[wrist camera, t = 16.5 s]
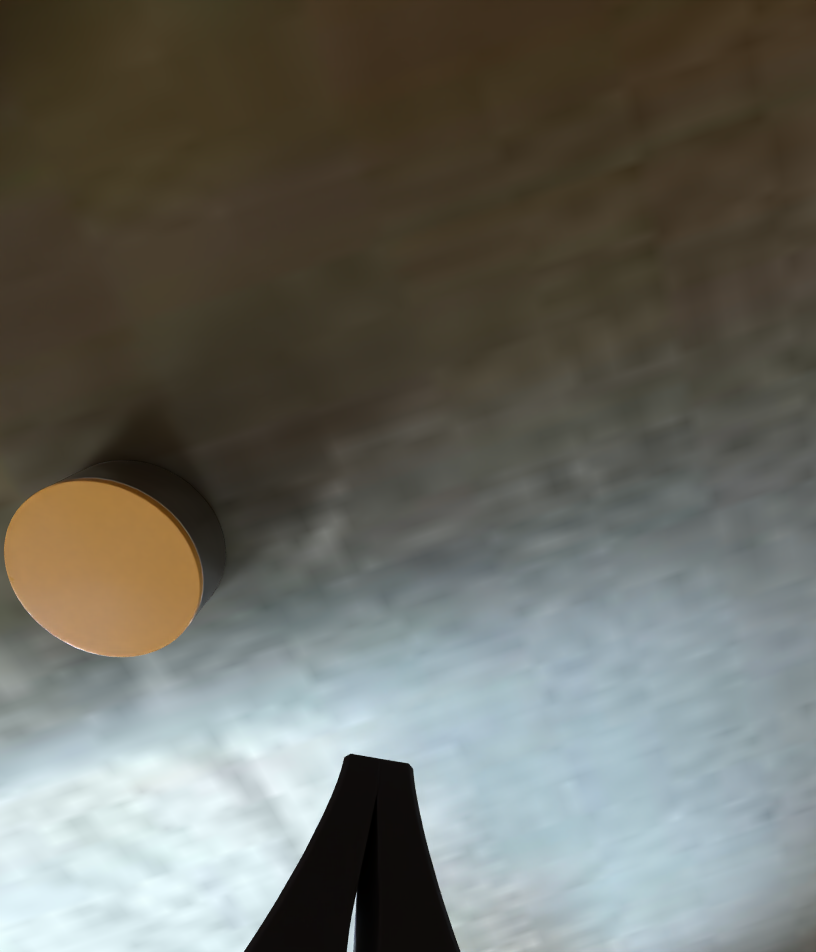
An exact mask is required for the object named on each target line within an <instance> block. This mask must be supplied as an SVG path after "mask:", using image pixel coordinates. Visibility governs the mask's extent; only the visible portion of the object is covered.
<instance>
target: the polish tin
mask: <svg viewBox="0 0 816 952" xmlns="http://www.w3.org/2000/svg"><path fill="white" fill-rule="evenodd" d="M4 556H5V565H6V570H7V574H8V577H9V580H10V582H11V585H12V587H13V589H14V591H15V593H16V595H17V597H18V599H19V600H20V602H21V603H22V604H23V606H24V607H25V609H26V610H27V611H28V612H29V613H30V615H31V616H32V617H33V618H34V619H35V620H36V621H37V622H38V623H39V624H40V625H41V626H42V627H44V628H45V629H46V630H47V631H49V632H50V633H51V634H53V635H54V636H56V637H57V638H59V639H61V640H62V641H64V642H66V643H68V644H70V645H72V646H74V647H76V648H79V649H82V650H84V651H87V652H91V653H95V654H98V655H104V656H111V657H131V656H139V655H144V654H148V653H151V652H154V651H157V650H159V649H161V648H163V647H165V646H167V645H168V644H170V643H171V642H173V641H174V640H176V639H177V638H178V637H179V636H180V635H181V634H182V633H183V632H184V631H185V629H186V628H187V627H188V625H189V624H190V623H191V622H192V620H193V619H194V618H195V616H196V615H197V614H198V612H199V611H200V610H201V608H202V607H203V606H204V604H205V603H206V602H207V600H208V599H209V598H210V596H211V595H212V594H213V593H214V591H215V590H216V588H217V586H218V584H219V583H220V580H221V577H222V575H223V571H224V566H225V557H226V551H225V541H224V537H223V533H222V530H221V527H220V524H219V522H218V520H217V518H216V516H215V514H214V512H213V510H212V509H211V507H210V506H209V505H208V503H207V502H206V500H205V499H204V498H203V497H202V496H201V495H200V494H199V493H198V492H197V491H196V490H195V489H194V488H193V487H192V486H191V485H190V484H188V483H187V482H186V481H184V480H183V479H181V478H180V477H178V476H177V475H175V474H173V473H171V472H169V471H167V470H165V469H163V468H160V467H158V466H155V465H151V464H148V463H144V462H138V461H131V460H117V461H108V462H104V463H99V464H96V465H94V466H91V467H89V468H86V469H84V470H82V471H80V472H78V473H76V474H74V475H71V476H69V477H67V478H65V479H63V480H61V481H59V482H57V483H54V484H52V485H50V486H48V487H46V488H44V489H42V490H40V491H39V492H37V493H35V494H33V495H32V496H31V497H30V498H29V499H27V500H26V501H25V502H24V503H23V504H22V505H21V506H20V508H19V509H18V510H17V511H16V513H15V515H14V516H13V518H12V520H11V522H10V524H9V527H8V530H7V533H6V538H5V546H4Z"/></svg>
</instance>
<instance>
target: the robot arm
mask: <svg viewBox="0 0 816 952" xmlns="http://www.w3.org/2000/svg"><path fill="white" fill-rule="evenodd" d="M356 892H357V897H356ZM355 897H356V915H355V932H354V950H353V952H460V949H459V946H458V944H457V941H456V938H455V935H454V932H453V929H452V926H451V923H450V920H449V917H448V914H447V911H446V908H445V905H444V902H443V899H442V895H441V892H440V889H439V886H438V882H437V879H436V875H435V871H434V868H433V864H432V861H431V857H430V853H429V850H428V846H427V842H426V838H425V834H424V830H423V825H422V821H421V816H420V812H419V806H418V801H417V796H416V790H415V783H414V775H413V768H412V767H411V766H410V764H408V763H402V762H396V761H390V760H384V759H378V758H373V757H367V756H361V755H355V754H349V755H348V756H346V757H344V761H343V765H342V769H341V772H340V775H339V778H338V781H337V783H336V786H335V789H334V791H333V794H332V796H331V798H330V801H329V803H328V805H327V807H326V809H325V812H324V814H323V816H322V818H321V820H320V822H319V824H318V826H317V828H316V830H315V832H314V834H313V836H312V838H311V840H310V842H309V844H308V846H307V848H306V850H305V852H304V854H303V855H302V857H301V859H300V861H299V863H298V864H297V866H296V868H295V870H294V871H293V873H292V875H291V877H290V878H289V880H288V882H287V883H286V885H285V887H284V889H283V890H282V892H281V894H280V896H279V897H278V899H277V901H276V902H275V904H274V906H273V907H272V909H271V910H270V912H269V914H268V915H267V917H266V918H265V920H264V922H263V923H262V925H261V926H260V928H259V929H258V931H257V933H256V934H255V936H254V937H253V939H252V940H251V942H250V943H249V945H248V946H247V948H246V949H245V951H244V952H347V945H348V936H349V928H350V922H351V916H352V911H353V906H354V902H355Z"/></svg>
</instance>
